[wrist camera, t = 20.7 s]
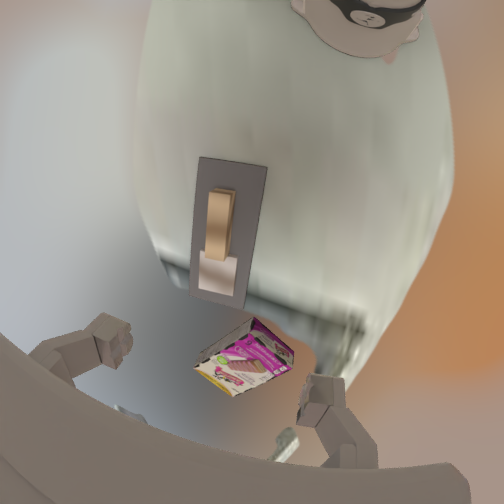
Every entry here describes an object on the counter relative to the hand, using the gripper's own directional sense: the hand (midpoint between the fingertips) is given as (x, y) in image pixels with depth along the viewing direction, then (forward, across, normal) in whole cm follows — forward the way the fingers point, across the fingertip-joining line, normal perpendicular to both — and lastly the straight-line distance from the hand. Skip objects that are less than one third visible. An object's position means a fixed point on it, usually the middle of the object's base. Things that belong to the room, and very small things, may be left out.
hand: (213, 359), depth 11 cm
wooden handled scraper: (+30, +8, +9) cm, 33 cm away
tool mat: (+31, +8, +8) cm, 33 cm away
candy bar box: (+29, -4, +24) cm, 38 cm away
